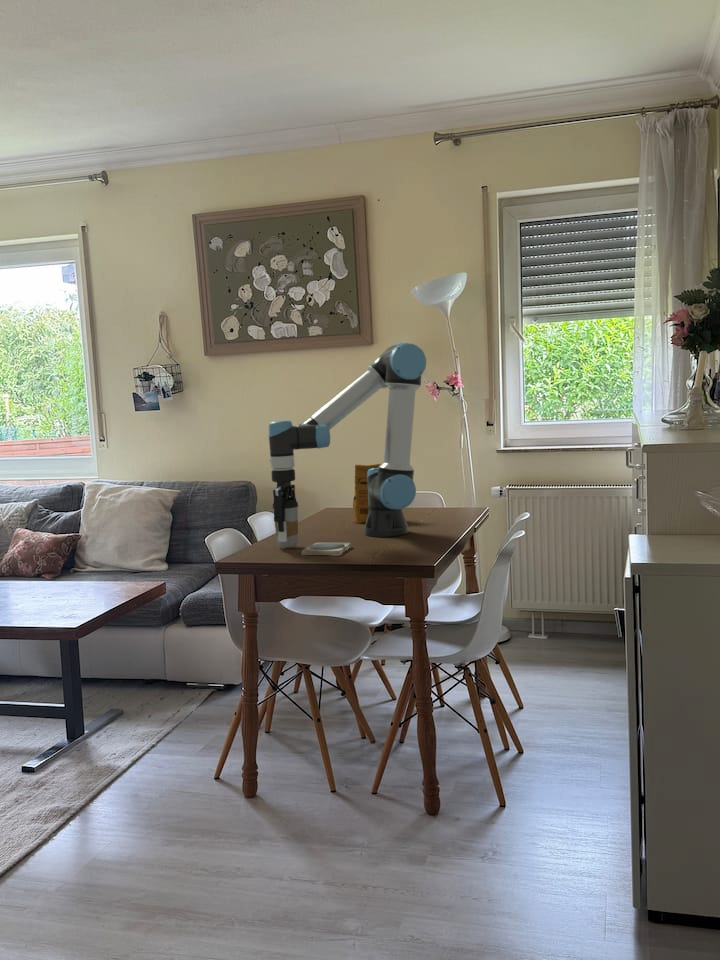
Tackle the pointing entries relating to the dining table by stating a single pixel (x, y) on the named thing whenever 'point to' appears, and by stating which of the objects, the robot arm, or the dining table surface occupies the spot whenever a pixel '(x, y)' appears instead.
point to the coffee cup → (290, 523)
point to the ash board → (326, 549)
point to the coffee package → (361, 493)
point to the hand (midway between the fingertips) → (287, 539)
